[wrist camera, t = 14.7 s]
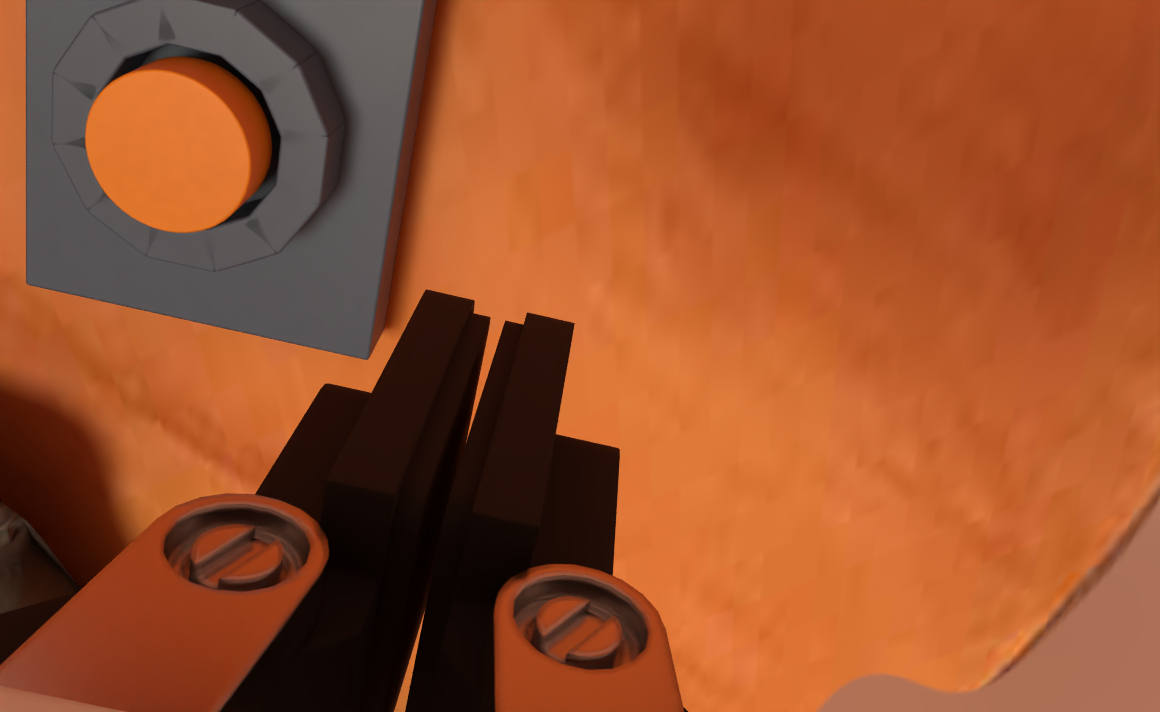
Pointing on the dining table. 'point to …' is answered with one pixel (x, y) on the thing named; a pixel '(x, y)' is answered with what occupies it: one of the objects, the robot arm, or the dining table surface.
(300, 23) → the push button box
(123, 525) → the dining table surface
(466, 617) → the robot arm
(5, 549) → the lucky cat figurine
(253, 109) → the button
